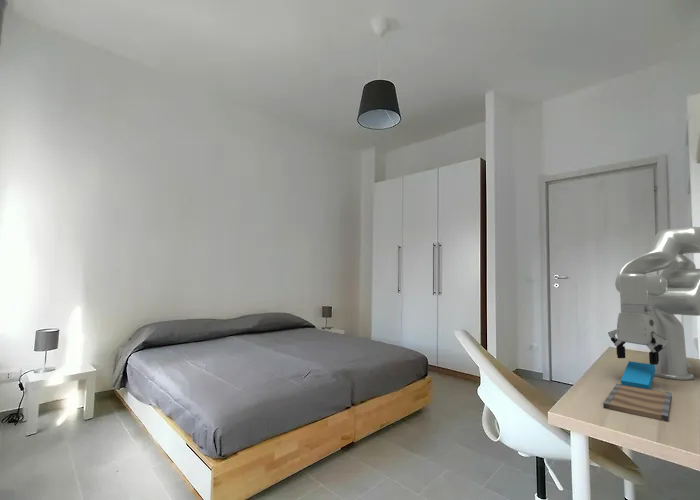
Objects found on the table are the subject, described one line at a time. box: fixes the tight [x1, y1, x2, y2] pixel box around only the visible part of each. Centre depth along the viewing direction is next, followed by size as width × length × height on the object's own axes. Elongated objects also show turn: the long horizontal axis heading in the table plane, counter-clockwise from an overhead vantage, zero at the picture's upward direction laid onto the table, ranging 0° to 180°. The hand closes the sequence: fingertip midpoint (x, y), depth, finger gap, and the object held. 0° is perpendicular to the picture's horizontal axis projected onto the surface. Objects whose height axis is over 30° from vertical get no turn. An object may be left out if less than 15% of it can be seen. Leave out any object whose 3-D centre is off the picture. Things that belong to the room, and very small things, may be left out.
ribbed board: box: [603, 383, 673, 422], centre depth 98 cm, size 24×13×1 cm, turn 136°
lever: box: [620, 360, 655, 390], centre depth 116 cm, size 7×7×18 cm
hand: (637, 361), depth 116 cm, fingers open, 9 cm apart
